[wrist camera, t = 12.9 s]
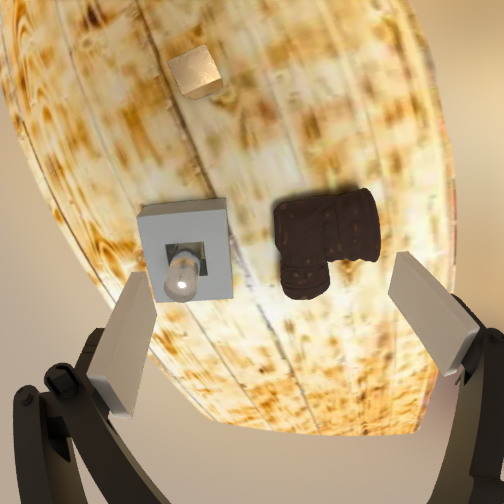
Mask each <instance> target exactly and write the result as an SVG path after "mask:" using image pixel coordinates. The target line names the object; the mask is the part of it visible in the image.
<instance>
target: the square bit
mask: <svg viewBox="0 0 504 504" xmlns="http://www.w3.org/2000/svg"><path fill="white" fill-rule="evenodd" d="M167 63H168V65H169V67H170V70H171V72H172V74H173V76H174V78H175V80H176V82H177V84H178V87H179V89H180V91H181V93H182V95H184V96H187V97H189V98H192V99H195V100H197V99H199V98H201V97H203V96H206V95H208V94H210V93H212V92H215V91H217V90H220V89H222V88H223V84H222V79H221V76H220V74H219V72H218V70H217V68H216V65H215V63H214V61H213V59H212V57H211V55H210V53H209V51H208V49H207V47H206V44H204V45H201V46H199V47H196V48H194V49H192V50H190V51H187V52H185V53H183V54H181V55H179V56H177V57H174V58H172V59H170V60H168V61H167Z"/></svg>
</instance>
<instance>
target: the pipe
mask: <svg viewBox="0 0 504 504" xmlns="http://www.w3.org/2000/svg"><path fill="white" fill-rule="evenodd" d="M274 224H275V245H276V247H277V249H278V250H279V252H280V253H281V256H282V259H281V285H282V288H283V291H284V293H285V295H287V296H288V297H289V298H291V299H294V300H306V299H307V300H310V299H313V298H315V297H317V296H319V295H321V294H323V293H324V292H325V291H326V290H327V289H328V288H329V286H330V276H329V269H328V263H327V261H328V262H333V261H335V260H344V259H345V258H348V260H350V261H356V260H358V259H362V260H364V261H371V262H376V261H377V260H378V258H379V255H380V249H381V234H380V223H379V216H378V212H377V207H376V203H375V200H374V198H373V196H372V194H371V192H370V191H369V190H368V189H367V188H362V189H360V190H356V191H353V192H351V193H348V194H346V193H343V194H340V195H339V196H317V197H312V198H308V199H304V200H298V201H292V202H284V203H281V204H279V205H278V206H277V207H276V208H275V210H274Z"/></svg>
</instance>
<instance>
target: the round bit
mask: <svg viewBox="0 0 504 504" xmlns="http://www.w3.org/2000/svg"><path fill="white" fill-rule="evenodd" d="M202 251H203V242H190V243H177V246H176V249H175V252H174V255H173V258H172V261H171V264H170V267H169V270H168V273H167V276H166V280H165V283H164V292H165V294H166V295H167V296H168V297H169V298H170V299H171V300H173V301H176V302H188V301H190V300H192V299H193V298H194V297H195V295H196V292H197V285H198V278H199V271H200V264H201V258H202Z"/></svg>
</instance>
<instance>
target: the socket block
mask: <svg viewBox="0 0 504 504" xmlns="http://www.w3.org/2000/svg"><path fill="white" fill-rule="evenodd" d="M136 218H137V223H138V228H139V233H140V238H141V242H142V247H143V252H144V256H145V261H146V265H147V269H148V273H149V277H150V281H151V285H152V289H153V293H154V297H155V300H156V303H162V302H176V301H173V300H171V299H170V298H169V297H168V296H167V295H166V294H165V292H164V283H165V280H166V276H167V273H168V270H169V267H170V264H171V261H172V258H173V255H174V252H175V251H174V246H173V244H177V243H190V242H203V241H204V249H205V257H206V259H201V264H200V271H199V278H198V285H197V292H196V295H195V297H194V298H193V299H192V300H190V301H202V300H218V299H233V279H232V268H231V256H230V244H229V232H228V219H227V206H226V198H218V199H206V200H194V201H183V202H173V203H163V204H153V205H146V206H145V207H144V208H143V209H142V211H141V212H140V213H139V215H138V216H137V217H136Z"/></svg>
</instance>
